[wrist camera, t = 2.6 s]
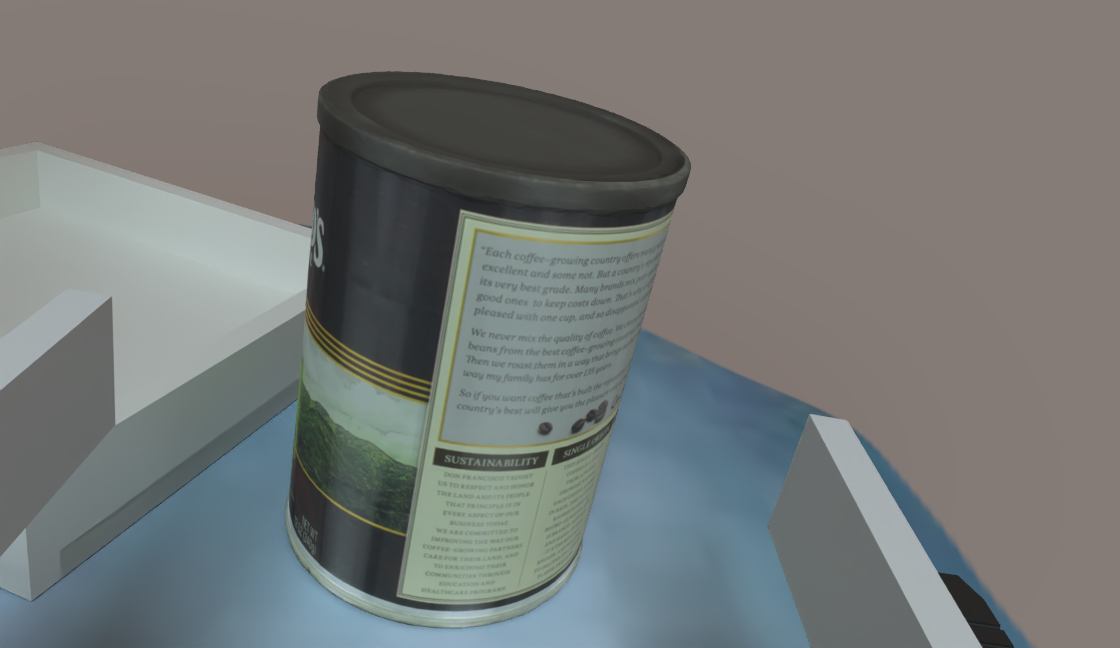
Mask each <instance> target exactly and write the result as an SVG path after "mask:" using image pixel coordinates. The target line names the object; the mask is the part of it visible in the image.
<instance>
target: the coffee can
mask: <svg viewBox="0 0 1120 648" xmlns="http://www.w3.org/2000/svg"><path fill="white" fill-rule="evenodd" d="M317 118H318V122H319V124H320V135H319V147H318V159H317V173H316V182H315V196H314V209H313V220H312V232H311V245H310V255H309V267H308V279H307V295H306V309H305V319H304V332H303V344H302V357H301V369H300V381H299V392H298V404H297V415H296V426H295V438H294V446H293V459H292V471H291V484H290V492H289V495H288V498H287V502H286V507H285V522H286V530H287V534H288V538H289V541H290V544H291V547H292V549H293V551H294V553H295V555H296V557H297V558H298V560H299V561H300V563H301V564H302V565H303V567H304V568H305V569H306V570H307V571H308V572H309V573H310V574H311V575H312V576H313V577H314V578H315V579H316V581H318V582H319V583H320V584H321V585H322V586H323V587H325V588H326V589H327V590H328V591H330V592H331V593H332V594H334V595H335V596H337V597H338V598H340V599H342V600H344V601H345V602H347V603H349V604H351V605H353V606H355V607H357V608H359V609H361V610H363V611H366V612H368V613H371V614H373V615H376V616H379V617H382V618H385V619H389V620H392V621H396V622H400V623H404V624H408V625H417V626H425V627H433V628H464V627H475V626H483V625H488V624H493V623H497V622H502V621H505V620H509V619H512V618H514V617H518V616H521V615H523V614H526V613H528V612H530V611H532V610H533V609H535V608H536V607H538V606H539V605H541V604H542V603H544V602H546V601H547V600H549V599H550V598H552V597H553V596H554V595H555V594H556V593H557V592H558V591H559V590H560V589H561V588H562V587H563V586H564V585H565V584H566V583H567V581H568V580H569V578H570V577H571V575H572V573H573V572H574V570H575V568H576V565H577V563H578V560H579V558H580V554H581V550H582V539H583V534H584V530H585V527H586V523H587V520H588V516H589V512H590V509H591V505H592V502H593V498H594V495H595V491H596V487H597V484H598V480H599V477H600V473H601V469H602V466H603V462H604V458H605V455H606V451H607V447H608V443H609V440H610V436H611V432H612V429H613V426H614V422H615V419H616V415H617V411H618V408H619V405H620V402H621V397H622V394H623V390H624V386H625V383H626V379H627V376H628V372H629V369H630V365H631V362H632V358H633V354H634V351H635V347H636V343H637V340H638V336H639V333H640V329H641V326H642V322H643V318H644V315H645V311H646V308H647V304H648V301H649V297H650V293H651V290H652V286H653V283H654V279H655V276H656V272H657V268H658V264H659V261H660V257H661V253H662V251H663V247H664V243H665V239H666V236H667V233H668V229H669V225H670V222H671V218H672V214H673V211H674V207H675V203H676V200H677V198H678V197H679V196H680V195H681V194H682V193H683V191H684V189H685V187H686V184H687V180H688V177H689V174H690V170H691V163H690V161H689V158H688V157H687V156H686V154H685V153H684V152H683V151H682V150H681V149H680V148H679V147H677V146H676V145H675V144H673V143H672V142H670V141H669V140H668V139H666V138H665V137H663V136H661V135H660V134H658V133H656V132H655V131H653V130H651V129H649V128H647V127H645V126H643V125H641V124H639V123H637V122H634V121H632V120H629V119H627V118H625V117H623V116H620V115H617V114H615V113H612V112H609V111H607V110H604V109H600V108H597V107H594V106H591V105H589V104H586V103H582V102H579V101H576V100H572V99H568V98H564V97H561V96H557V95H554V94H549V93H545V92H542V91H538V90H532V89H528V88H524V87H521V86H515V85H509V84H505V83H499V82H493V81H487V80H480V79H475V78H468V77H459V76H452V75H451V76H450V75H443V74H435V73H420V72H372V73H361V74H354V75H348V76H345V77H341V78H338V79H335V80H332V81H330V82H328V83H327V84H326V85H324V86H323V87H322V88H321V89H320V91H319V97H318V110H317Z"/></svg>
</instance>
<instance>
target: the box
mask: <svg viewBox="0 0 1120 648" xmlns="http://www.w3.org/2000/svg"><path fill="white" fill-rule="evenodd" d="M311 232H312V229H310V228H306V227H303V226H300V225H297V224H294V223H291V222H287V221H285V220H281V219H278V218H275V217H272V216H269V215H266V214H263V213H260V212H256V211H253V210H250V209H247V208H244V207H240V206H238V205H235V204H231V203H228V202H225V201H222V200H219V199H216V198H213V197H210V196H206V195H203V194H200V193H197V192H194V191H191V190H187V189H185V188H182V187H178V186H175V185H172V184H169V183H166V182H162V181H160V180H156V179H153V178H150V177H147V176H144V175H141V174H138V173H135V172H132V171H128V170H125V169H122V168H119V167H116V166H113V165H109V164H107V163H103V162H100V161H97V160H94V159H91V158H88V157H85V156H81V155H78V154H75V153H72V152H69V151H66V150H63V149H60V148H57V147H53V146H50V145H47V144H44V143H41V142H38V141H37V142H32V143H26V144H21V145H16V146H12V147H6V148H1V149H0V339H2V338H3V337H4V336H6V335H7V334H8V333H10V332H11V331H12V330H13V329H15V328H16V327H17V326H19V325H20V324H21V323H23V322H24V321H25V320H27V319H28V318H29V317H31V316H32V315H33V314H35V313H36V312H37V311H39V310H40V309H41V308H43V307H44V306H45V305H47V304H48V303H49V302H51V301H52V300H53V299H55V298H56V297H57V296H59V295H60V294H61V293H63V292H64V291H65V290H67V289H68V288H69V289H75V290H81V291H87V292H93V293H99V294H105V295H111V296H112V311H113V350H114V389H115V426H114V427H113V428H112V429H111V430H110V432H109V433H108V434H107V435H106V436H105V437H104V438H103V440H102V441H101V442H100V443H99V444H98V445H97V447H96V448H95V449H94V450H93V451H92V452H91V453H90V455H89V456H88V457H87V458H86V459H85V460H84V461H83V463H82V464H81V465H80V466H79V467H78V468H77V469H76V471H75V472H74V473H73V474H72V475H71V476H70V478H69V479H68V480H67V481H66V482H65V483H64V484H63V486H62V487H61V488H60V489H59V490H58V491H57V492H56V494H55V495H54V496H53V497H52V498H51V499H50V500H49V502H48V503H47V504H46V505H45V506H44V507H43V509H42V510H41V511H40V512H39V513H38V514H37V515H36V517H35V518H34V519H33V520H32V521H31V522H30V523H29V525H28V526H27V527H26V528H25V529H24V530H23V531H22V533H21V534H20V535H19V536H18V537H17V538H16V540H15V541H14V542H13V543H12V544H11V545H10V546H9V548H8V549H7V550H6V551H5V552H4V553H3V554H2V556H1V557H0V587H1V588H3V589H5V590H7V591H9V592H12V593H14V594H16V595H18V596H21V597H23V598H25V599H27V600H30V601H33V600H34V599H35V598H36V597H38V596H39V595H40V594H42V593H43V592H44V591H46V590H47V589H48V588H50V587H51V586H52V585H54V584H55V583H56V582H57V581H59V580H60V579H61V578H63V577H64V576H65V575H67V574H68V573H69V572H71V571H72V570H73V569H75V568H76V567H77V566H78V565H80V564H81V563H82V562H84V561H85V560H86V559H88V558H89V557H90V556H92V555H93V554H94V553H96V552H97V551H98V550H99V549H101V548H102V547H103V546H105V545H106V544H107V543H109V542H110V541H111V540H113V539H114V538H115V537H117V536H118V535H119V534H120V533H122V532H123V531H124V530H126V529H127V528H128V527H130V526H131V525H132V524H134V523H135V522H136V521H138V520H139V519H140V518H141V517H143V516H144V515H145V514H147V513H148V512H149V511H151V510H152V509H153V508H155V507H156V506H157V505H159V504H160V503H161V502H162V501H164V500H165V499H166V498H168V497H169V496H170V495H172V494H173V493H174V492H176V491H177V490H178V489H180V488H181V487H182V486H183V485H185V484H186V483H187V482H189V481H190V480H191V479H193V478H194V477H195V476H197V475H198V474H199V473H201V472H202V471H203V470H204V469H206V468H207V467H208V466H210V465H211V464H212V463H214V462H215V461H216V460H218V459H219V458H220V457H222V456H223V455H224V454H225V453H227V452H228V451H229V450H231V449H232V448H233V447H235V446H236V445H237V444H239V443H240V442H241V441H243V440H244V439H245V438H246V437H248V436H249V435H250V434H252V433H253V432H254V431H256V430H257V429H258V428H260V427H261V426H262V425H264V424H265V423H266V422H268V421H269V420H270V419H271V418H273V417H274V416H275V415H277V414H278V413H279V412H281V411H282V410H283V409H285V408H286V407H287V406H289V405H290V404H291V403H292V402H294V401H295V400H296V399H298V392H299V381H300V369H301V357H302V344H303V332H304V319H305V309H306V295H307V279H308V267H309V255H310V245H311Z"/></svg>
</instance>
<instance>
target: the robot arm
mask: <svg viewBox="0 0 1120 648" xmlns="http://www.w3.org/2000/svg"><path fill="white" fill-rule="evenodd" d="M114 426H115V389H114V350H113V311H112V296H111V295H105V294H99V293H93V292H87V291H81V290H75V289H69V288H68V289H67V290H65V291H64V292H63V293H61V294H60V295H59V296H57V297H56V298H55V299H53V300H52V301H51V302H49V303H48V304H47V305H45V306H44V307H43V308H41V309H40V310H39V311H37V312H36V313H35V314H33V315H32V316H31V317H29V318H28V319H27V320H25V321H24V322H23V323H21V324H20V325H19V326H17V327H16V328H15V329H13V330H12V331H11V332H10V333H8V334H7V335H6V336H4V337H3V338H2V339H0V557H1V556H2V554H3V553H4V552H5V551H6V550H7V549H8V548H9V546H10V545H11V544H12V543H13V542H14V541H15V540H16V538H17V537H18V536H19V535H20V534H21V533H22V531H23V530H24V529H25V528H26V527H27V526H28V525H29V523H30V522H31V521H32V520H33V519H34V518H35V517H36V515H37V514H38V513H39V512H40V511H41V510H42V509H43V507H44V506H45V505H46V504H47V503H48V502H49V500H50V499H51V498H52V497H53V496H54V495H55V494H56V492H57V491H58V490H59V489H60V488H61V487H62V486H63V484H64V483H65V482H66V481H67V480H68V479H69V478H70V476H71V475H72V474H73V473H74V472H75V471H76V469H77V468H78V467H79V466H80V465H81V464H82V463H83V461H84V460H85V459H86V458H87V457H88V456H89V455H90V453H91V452H92V451H93V450H94V449H95V448H96V447H97V445H98V444H99V443H100V442H101V441H102V440H103V438H104V437H105V436H106V435H107V434H108V433H109V432H110V430H111V429H112V428H113V427H114ZM768 529H769V532H770V535H771V538H772V540H773V543H774V546H775V549H776V552H777V554H778V557H779V560H780V563H781V566H782V568H783V571H784V574H785V577H786V580H787V582H788V585H789V588H790V591H791V593H792V596H793V599H794V602H795V605H796V607H797V610H798V613H799V616H800V619H801V621H802V624H803V627H804V630H805V633H806V635H807V638H808V641H809V644H810V647H811V648H1014V646H1013V644H1012V643H1011V641H1010V640H1009V638H1008V636H1007V635H1006V633H1005V632H1004V631H1003V630H1000V624H999V622H998V621H997V619H996V618H995V616H994V615H993V613H992V611H991V610H990V608H989V607H988V605H987V604H986V602H985V601H984V599H983V598H982V597H980V596H979V595H978V594H977V593H976V592H975V591H974V590H973V589H972V588H971V587H970V586H969V585H968V584H966V583H965V582H964V581H963V580H962V579H961V578H960V577H959V576H958V575H952V574H945V573H939V572H937V571H936V569H935V567H934V566H933V564H932V562H931V561H930V559H929V557H928V556H927V554H926V552H925V551H924V549H923V547H922V545H921V544H920V542H919V540H918V539H917V537H916V535H915V534H914V532H913V530H912V529H911V527H910V525H909V524H908V522H907V520H906V519H905V517H904V515H903V514H902V512H901V510H900V508H899V507H898V505H897V503H896V502H895V500H894V498H893V497H892V495H891V493H890V492H889V490H888V488H887V487H886V485H885V483H884V482H883V480H882V478H881V477H880V475H879V473H878V472H877V470H876V468H875V466H874V465H873V463H872V461H871V460H870V458H869V456H868V455H867V453H866V451H865V450H864V448H863V446H862V445H861V443H860V441H859V440H858V438H857V436H856V435H855V433H854V431H853V430H852V428H851V426H850V424H849V423H848V421H847V420H841V419H835V418H830V417H824V416H818V415H812V414H809V417H808V419H807V422H806V425H805V428H804V430H803V433H802V436H801V438H800V441H799V444H798V446H797V449H796V452H795V454H794V457H793V460H792V463H791V465H790V468H789V471H788V473H787V476H786V479H785V481H784V484H783V487H782V490H781V492H780V495H779V498H778V500H777V503H776V506H775V508H774V511H773V514H772V516H771V519H770V522H769V525H768Z"/></svg>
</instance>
